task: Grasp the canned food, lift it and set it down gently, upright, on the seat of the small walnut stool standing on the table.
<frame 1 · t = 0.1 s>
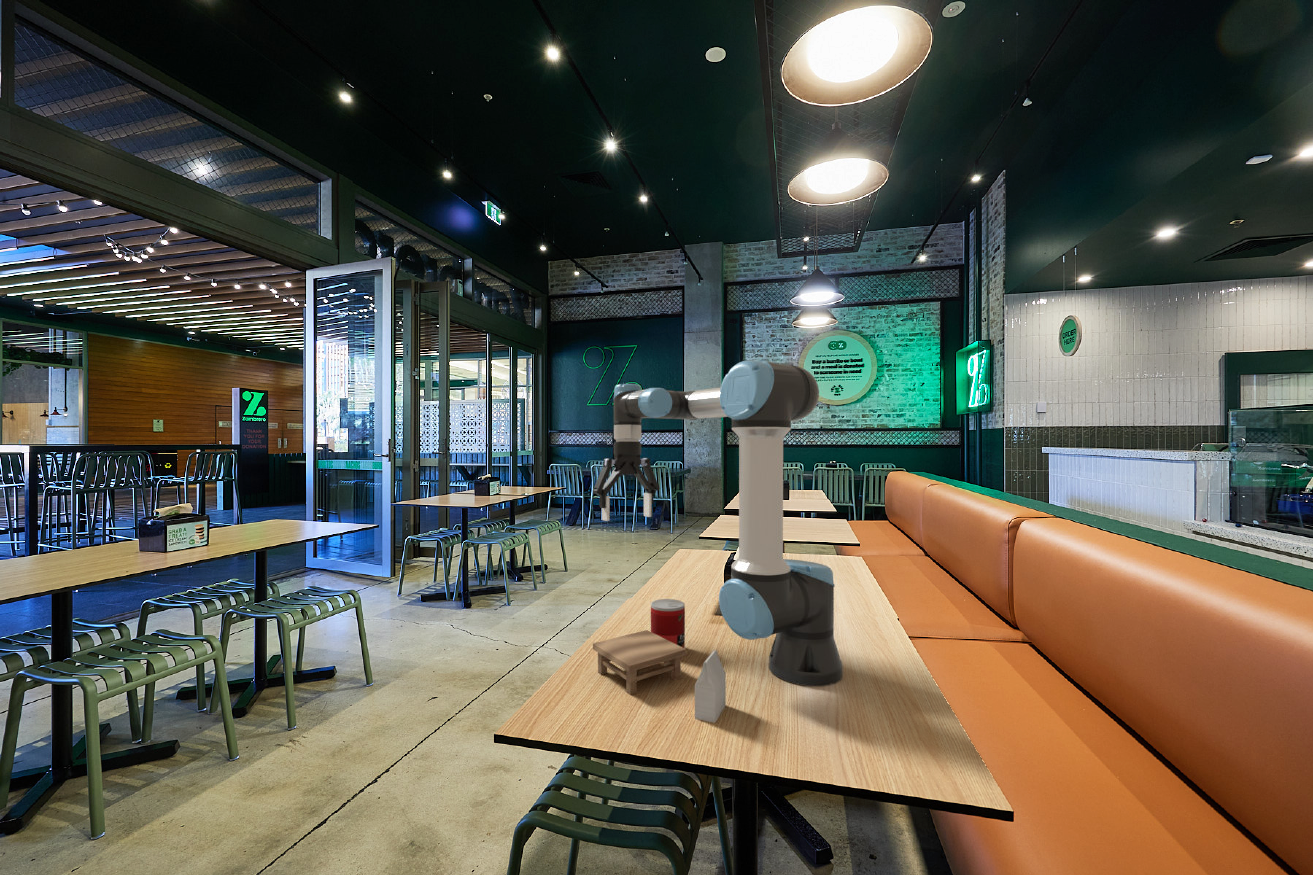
hand: (627, 518, 145), 28 cm above the table, fingers open, 13 cm apart
stool: (638, 675, 110), on the table
canned food: (667, 651, 124), on the table
grey pointed block: (710, 712, 95), on the table
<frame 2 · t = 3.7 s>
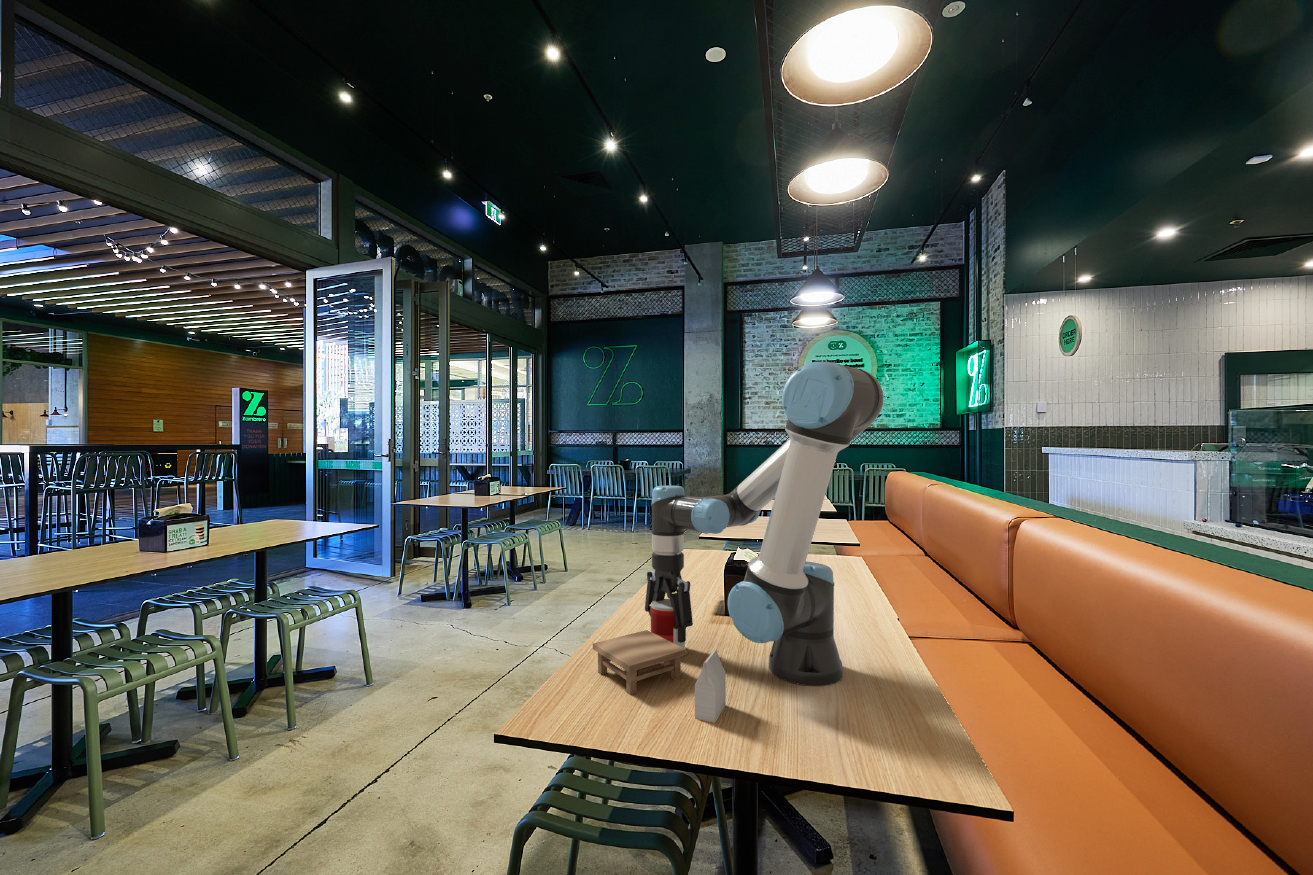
hand: (667, 649, 124), 0 cm above the table, fingers closed on canned food, 8 cm apart
canned food: (667, 651, 124), on the table, touching gripper
everything else where it was.
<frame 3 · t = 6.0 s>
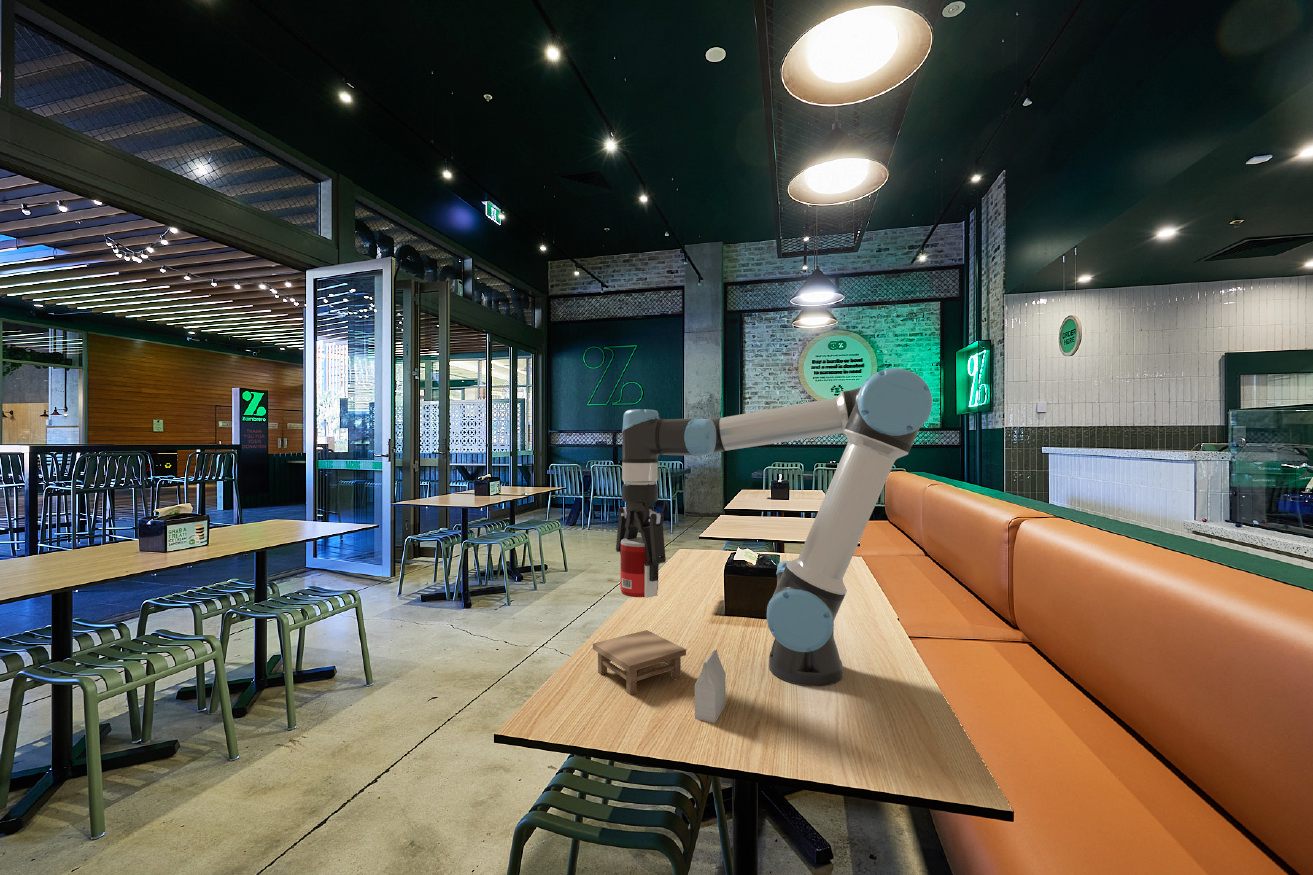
hand: (639, 591, 111), 17 cm above the table, fingers closed on canned food, 8 cm apart
canned food: (639, 593, 111), point 17 cm above the table, touching gripper
everything else where it was.
when the fingers open (8 cm above the table, at t = 8.2 s): canned food drops 1 cm, resting on stool.
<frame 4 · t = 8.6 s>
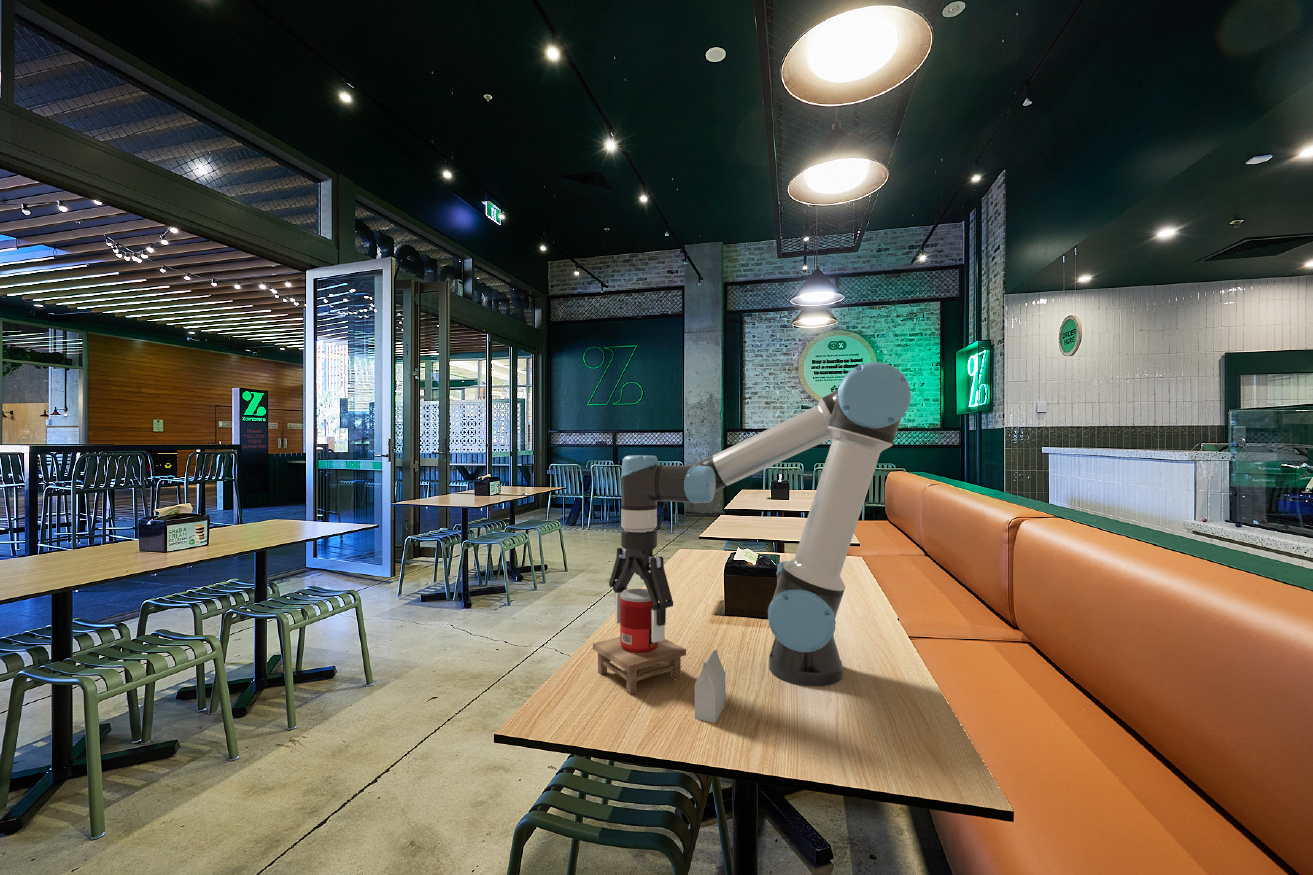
hand: (638, 631, 110), 9 cm above the table, fingers open, 13 cm apart
canned food: (639, 647, 110), point 6 cm above the table, touching stool
everything else where it was.
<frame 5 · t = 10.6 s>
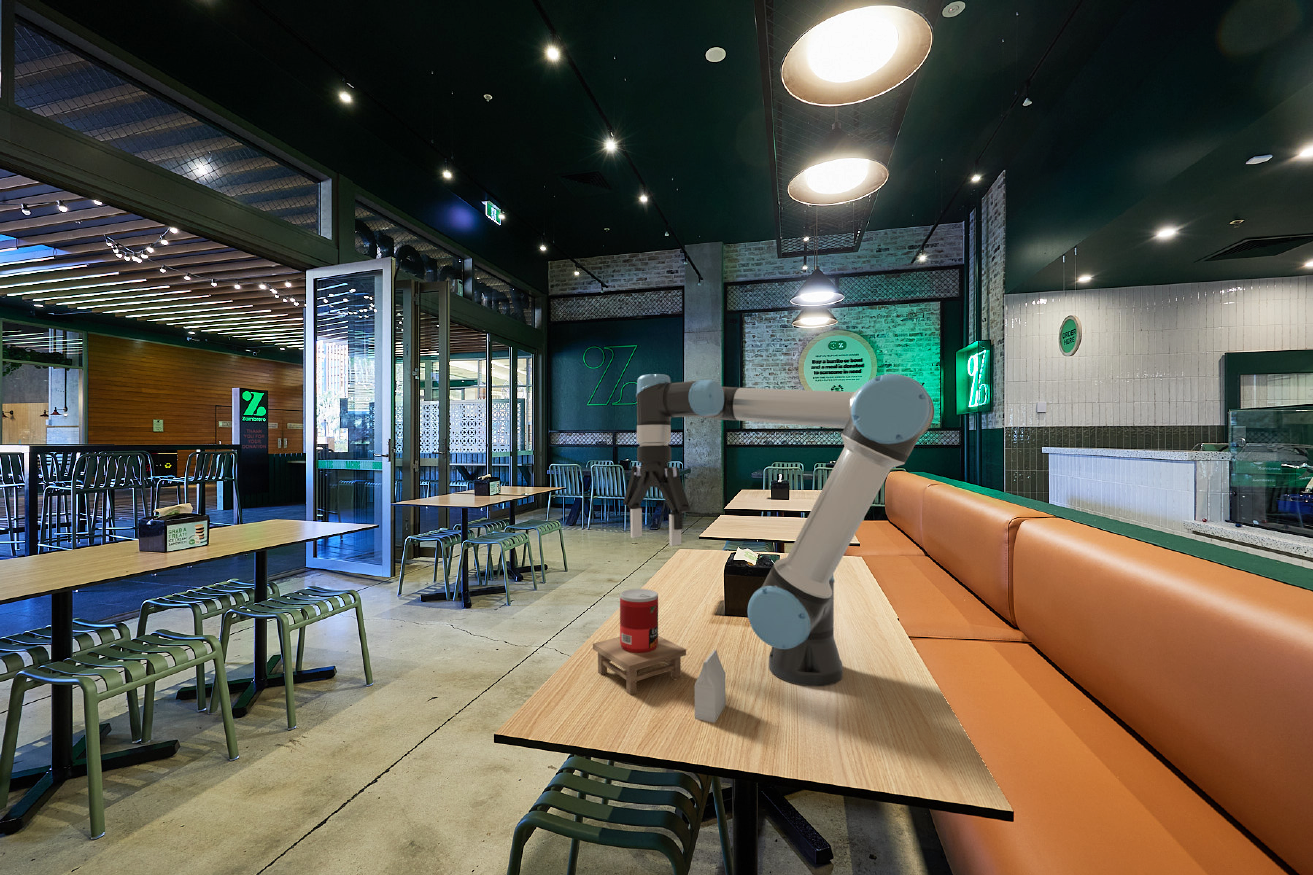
hand: (655, 541, 117), 27 cm above the table, fingers open, 13 cm apart
nothing on the table moved.
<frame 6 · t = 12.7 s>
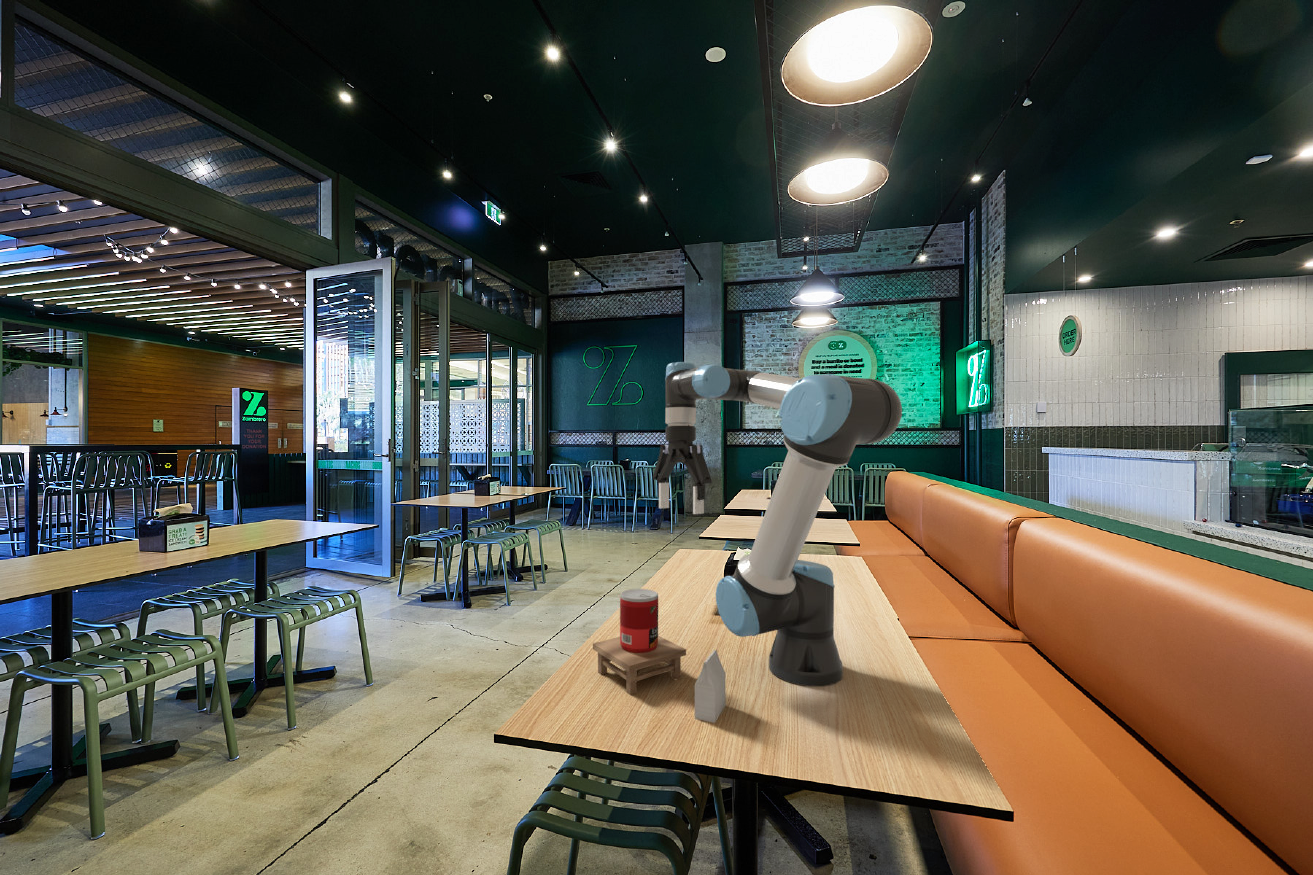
hand: (680, 510, 131), 32 cm above the table, fingers open, 13 cm apart
nothing on the table moved.
at the end: canned food inside the target area on the stool (0.1 cm from its centre), point 5.8 cm above the stool's base; canned food tilted 0°; the gripper is holding nothing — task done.
